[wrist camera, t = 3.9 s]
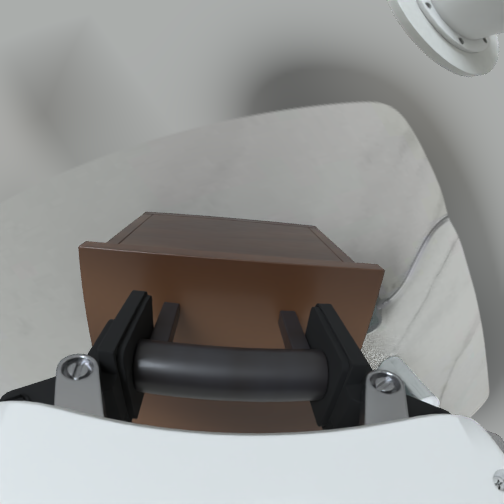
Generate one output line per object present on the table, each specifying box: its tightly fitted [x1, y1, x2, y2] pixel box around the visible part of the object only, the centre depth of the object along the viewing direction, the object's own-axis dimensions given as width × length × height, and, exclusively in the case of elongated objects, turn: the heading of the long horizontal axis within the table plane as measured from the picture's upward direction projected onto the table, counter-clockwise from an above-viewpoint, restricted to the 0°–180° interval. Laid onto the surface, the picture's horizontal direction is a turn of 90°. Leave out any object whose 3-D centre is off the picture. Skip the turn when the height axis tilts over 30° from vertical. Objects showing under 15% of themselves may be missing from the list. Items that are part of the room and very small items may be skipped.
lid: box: [78, 241, 385, 433], centre depth 12 cm, size 16×14×6 cm
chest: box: [106, 212, 355, 263], centre depth 20 cm, size 16×14×11 cm
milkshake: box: [378, 356, 440, 407], centre depth 25 cm, size 5×5×10 cm
